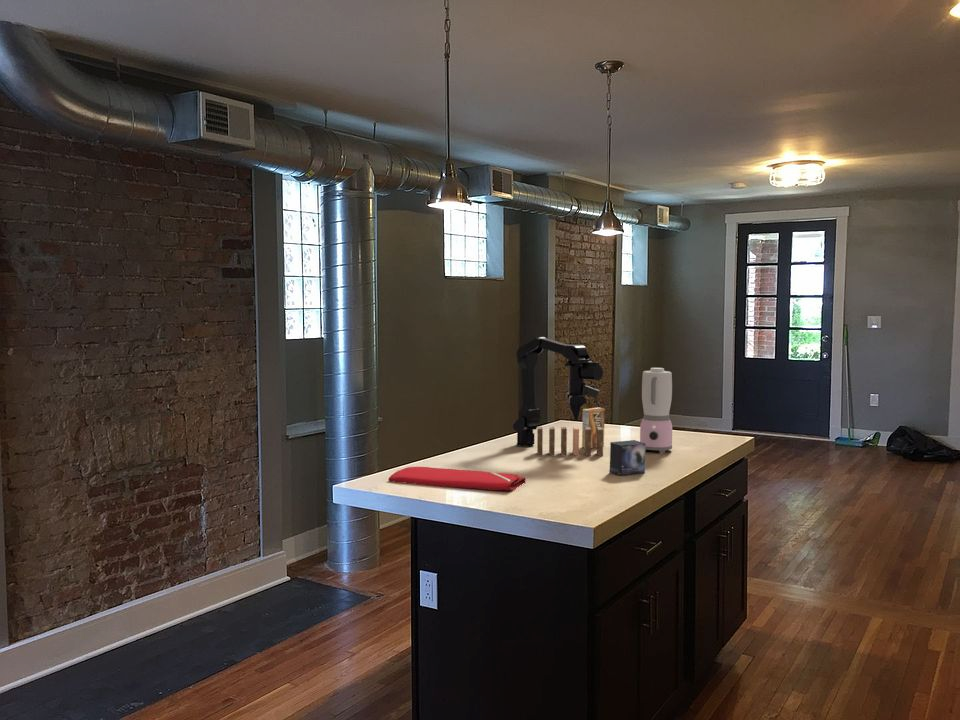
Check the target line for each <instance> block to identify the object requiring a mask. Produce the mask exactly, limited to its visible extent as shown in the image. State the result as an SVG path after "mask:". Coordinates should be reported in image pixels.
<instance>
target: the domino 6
mask: <svg viewBox="0 0 960 720" xmlns="http://www.w3.org/2000/svg"><path fill="white" fill-rule="evenodd" d="M596 456H597V457H603V456H604V446H603V428H602V427H597V447H596Z"/></svg>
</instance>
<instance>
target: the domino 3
mask: <svg viewBox="0 0 960 720" xmlns="http://www.w3.org/2000/svg"><path fill="white" fill-rule="evenodd" d="M567 429H568V428H567V427H566V426H561V427H560V430H561V431H560V443H561V444H560V454H562V455H567V451H568V449H567V448H568V447H567V445H568V444H567V443H568V441H567V440H568V438H567V436H568V430H567ZM562 455H561V456H562Z"/></svg>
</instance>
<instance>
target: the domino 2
mask: <svg viewBox="0 0 960 720" xmlns="http://www.w3.org/2000/svg"><path fill="white" fill-rule="evenodd" d="M555 429H556V428H555V426H549V429H548V430H549V431H548V433H549V434H548V435H549V436H548V437H549V439H548V455H549V454H550V455H556V454H555V451H556V449H555V444H556V443H555V442H556V439H555V438H556V436H555V435H556V434H555V433H556V430H555ZM550 455H549V456H550Z"/></svg>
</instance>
